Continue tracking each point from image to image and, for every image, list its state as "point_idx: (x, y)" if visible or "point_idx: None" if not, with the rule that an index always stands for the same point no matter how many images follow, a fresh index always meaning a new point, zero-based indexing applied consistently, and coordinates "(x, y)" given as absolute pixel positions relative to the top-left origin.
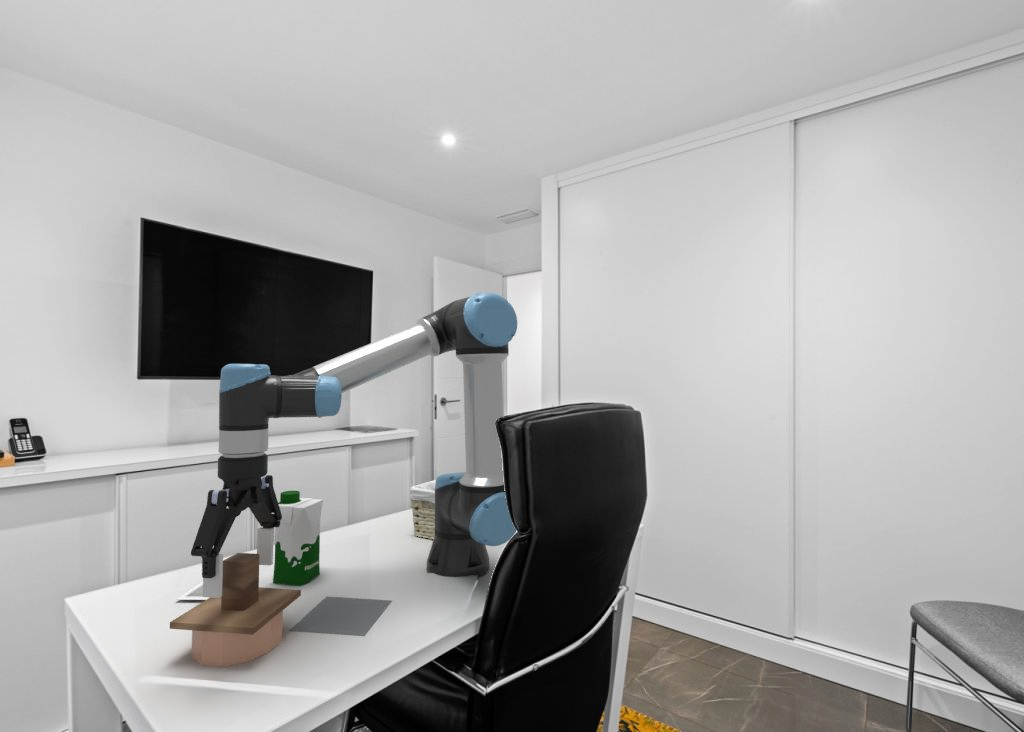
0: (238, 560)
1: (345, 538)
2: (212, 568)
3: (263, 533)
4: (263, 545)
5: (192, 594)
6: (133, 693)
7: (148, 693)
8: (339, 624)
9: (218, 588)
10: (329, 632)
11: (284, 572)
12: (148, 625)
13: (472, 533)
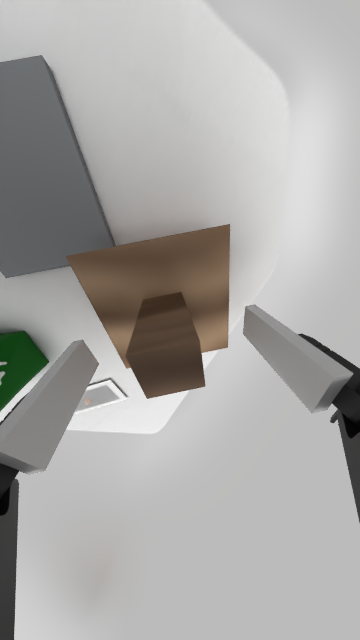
0: (191, 363)
1: None
2: (322, 350)
3: (39, 439)
4: (66, 394)
5: (114, 397)
6: (242, 315)
7: (241, 305)
8: (50, 175)
9: (266, 314)
10: (83, 176)
11: (24, 364)
12: None
13: None
